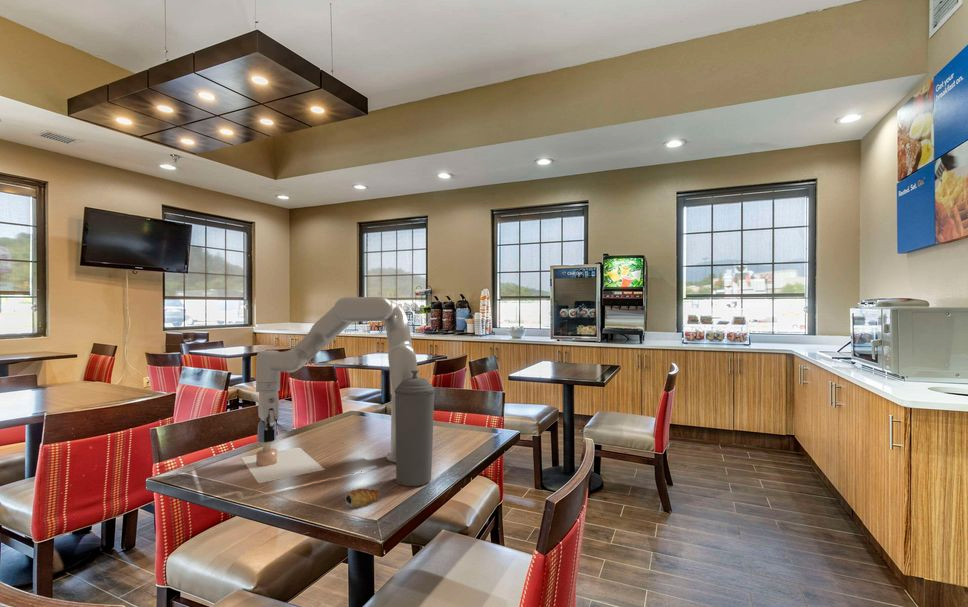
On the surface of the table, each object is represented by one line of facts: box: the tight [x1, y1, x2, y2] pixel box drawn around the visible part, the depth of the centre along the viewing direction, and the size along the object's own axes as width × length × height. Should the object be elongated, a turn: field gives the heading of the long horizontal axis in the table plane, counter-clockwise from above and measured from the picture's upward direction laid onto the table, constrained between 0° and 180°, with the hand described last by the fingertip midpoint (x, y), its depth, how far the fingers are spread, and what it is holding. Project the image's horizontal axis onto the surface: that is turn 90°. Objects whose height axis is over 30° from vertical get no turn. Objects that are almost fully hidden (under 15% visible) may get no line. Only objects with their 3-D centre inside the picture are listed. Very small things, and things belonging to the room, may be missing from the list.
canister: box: [395, 370, 436, 487], centre depth 140 cm, size 13×13×35 cm
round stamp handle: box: [255, 442, 278, 466], centre depth 152 cm, size 6×6×11 cm
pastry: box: [344, 488, 381, 509], centre depth 124 cm, size 9×7×4 cm
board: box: [240, 447, 326, 484], centre depth 152 cm, size 30×20×1 cm, turn 38°
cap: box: [256, 420, 277, 444], centre depth 152 cm, size 6×6×6 cm
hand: (267, 438), depth 152 cm, fingers closed on cap, 5 cm apart
